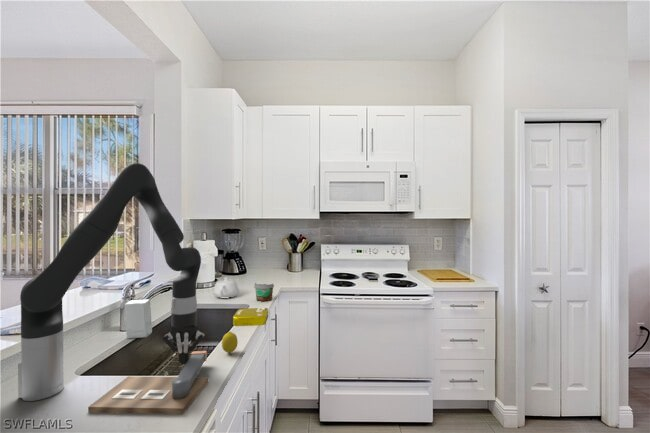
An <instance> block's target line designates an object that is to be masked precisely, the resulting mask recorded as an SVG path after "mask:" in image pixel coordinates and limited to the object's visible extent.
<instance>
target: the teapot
mask: <svg viewBox="0 0 650 433" xmlns="http://www.w3.org/2000/svg"><path fill="white" fill-rule="evenodd" d="M239 292H240V288H239V286H238V284H237V281H236V280H234V279H232V277H229V276H226V277H223V279H221V280H217V281H216V283H215V285H214V286H213V290H212V294H213V296H215V297H216V298H217V297H233V296H235V297H236V296H238V294H239ZM233 298H234V297H233Z"/></svg>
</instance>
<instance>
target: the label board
mask: <svg viewBox="0 0 650 433" xmlns="http://www.w3.org/2000/svg"><path fill="white" fill-rule="evenodd" d="M177 377H178V376H127V377H125V378H124V379H123V380H122V381H120V382H119V383H118V384H116V385H115V386H114V387H113V388H111V389H110V390H109V391H107V392H106V393H105V394H103V395H102V396H101V397H99V398H98V399H96V400H95V401H94V402H93V403H92V404H90V405H89V406H87V408H88V409H87V410H88V412H87V413H88V414H91V413H93V414H136V415H137V414H138V415H141V414H142V415H143V414H145V415H148V414H149V415H150V414H151V415H152V414H153V415H185V413H186V411H187V410H188V409H189V408H190V406H191V405H192V404H193V402H194V401H195V400H196V399H197V397H198V396H199V395H200V394H201V392H202V391H203V390H204V389H205V387H206V386H207V385H208V384H209V377H202V376H201V377H198V376H197V377H196V379H195V380H194V382H193V384H192V386H191V388H190V393H189V395H188V396H186V397H184V398H180V399H175V398H173V397H172V381H173V380H175V379H177Z"/></svg>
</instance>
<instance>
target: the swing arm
mask: <svg viewBox="0 0 650 433" xmlns="http://www.w3.org/2000/svg"><path fill="white" fill-rule="evenodd" d="M207 352H208V351H207V350H197V351H196V350H195V351H194V350H193V351H191V353H190V356H189V360H188V361H187V363H186V364H185V365H184V366H183V368H182V370H181V371H180V373H179V374H178V376H176V377H177V379H175V380H173V381H172V397H173V398H175V399H180V398H184V397H186V396H188V395H189V393H190V388H191V386H192V384H193V382H194V380H195V379H196V377H198V376H199V372H200V371H201V369H202V367H203V365H204V363H205V362H206V361H207V358H208V357H207V356H208V354H207Z"/></svg>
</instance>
